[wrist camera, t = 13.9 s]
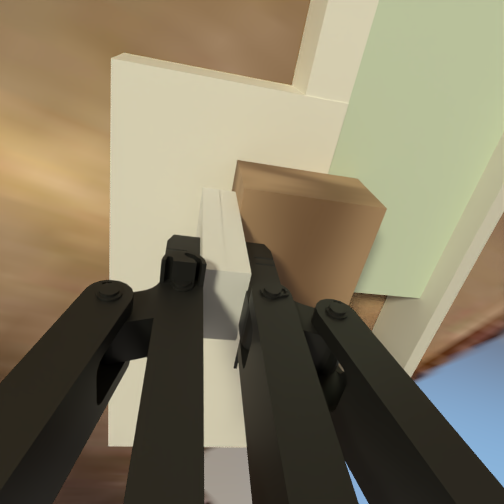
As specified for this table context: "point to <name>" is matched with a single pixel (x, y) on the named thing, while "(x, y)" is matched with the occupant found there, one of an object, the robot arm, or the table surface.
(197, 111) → the tray
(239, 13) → the table surface
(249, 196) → the block
